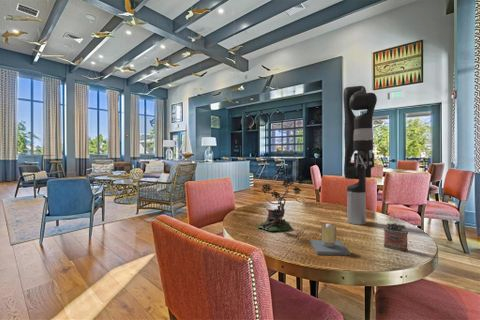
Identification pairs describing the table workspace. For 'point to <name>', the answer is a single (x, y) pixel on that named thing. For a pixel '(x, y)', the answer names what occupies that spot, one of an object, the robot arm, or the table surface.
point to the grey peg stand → (329, 247)
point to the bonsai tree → (276, 216)
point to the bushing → (328, 233)
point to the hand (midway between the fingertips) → (363, 176)
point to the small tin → (395, 237)
